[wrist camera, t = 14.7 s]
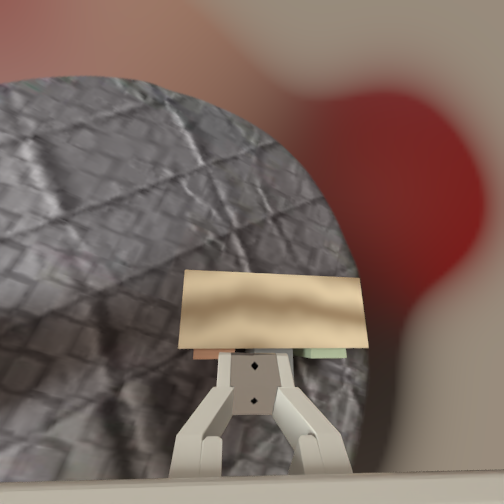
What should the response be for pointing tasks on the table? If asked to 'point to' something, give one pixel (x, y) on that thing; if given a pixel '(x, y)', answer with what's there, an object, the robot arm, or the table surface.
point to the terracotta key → (209, 353)
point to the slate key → (274, 350)
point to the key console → (270, 311)
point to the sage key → (320, 352)
